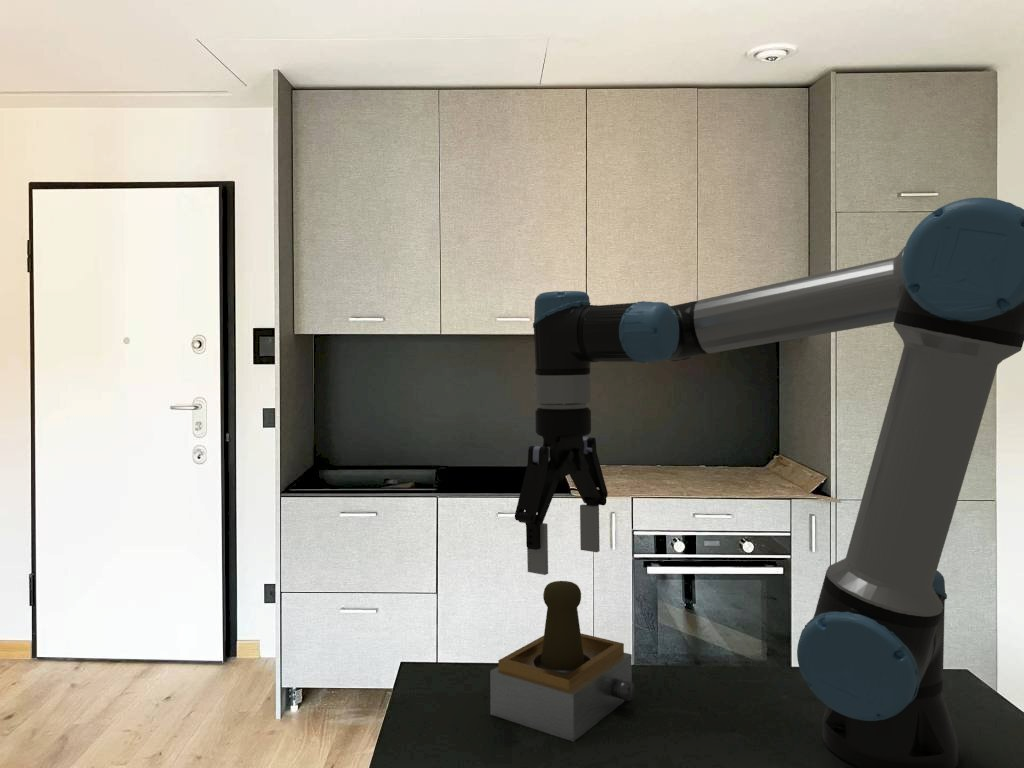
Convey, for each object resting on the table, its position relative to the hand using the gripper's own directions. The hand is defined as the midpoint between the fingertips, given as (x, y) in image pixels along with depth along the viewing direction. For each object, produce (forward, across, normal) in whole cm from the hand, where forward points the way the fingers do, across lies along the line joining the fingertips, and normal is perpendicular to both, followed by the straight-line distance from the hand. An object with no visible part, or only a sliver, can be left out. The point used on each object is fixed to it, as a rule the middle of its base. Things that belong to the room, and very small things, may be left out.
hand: (565, 561), depth 109 cm
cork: (+14, 0, -1) cm, 14 cm away
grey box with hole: (+20, 0, 0) cm, 20 cm away
